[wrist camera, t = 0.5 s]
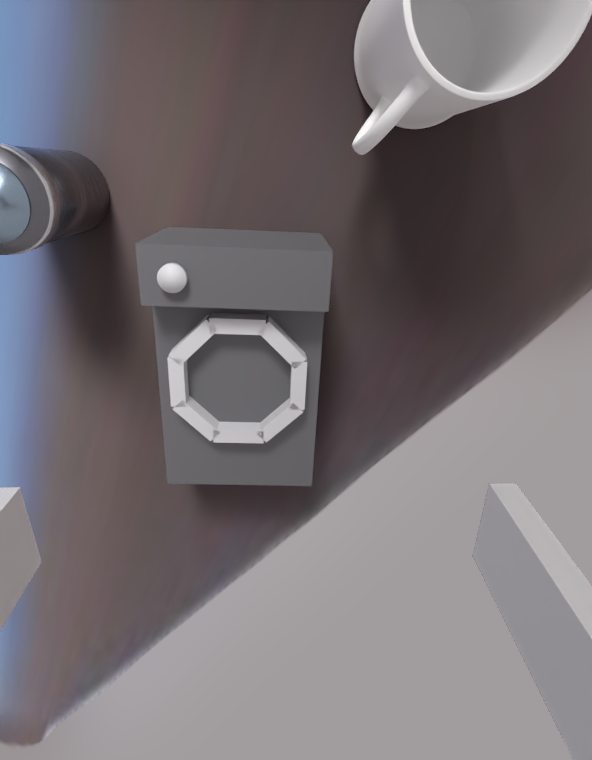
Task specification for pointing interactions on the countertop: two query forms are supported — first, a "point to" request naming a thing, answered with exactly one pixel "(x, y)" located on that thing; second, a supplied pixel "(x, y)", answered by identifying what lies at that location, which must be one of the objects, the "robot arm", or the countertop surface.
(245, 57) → the countertop surface
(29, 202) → the lens
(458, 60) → the mug
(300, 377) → the camera body
